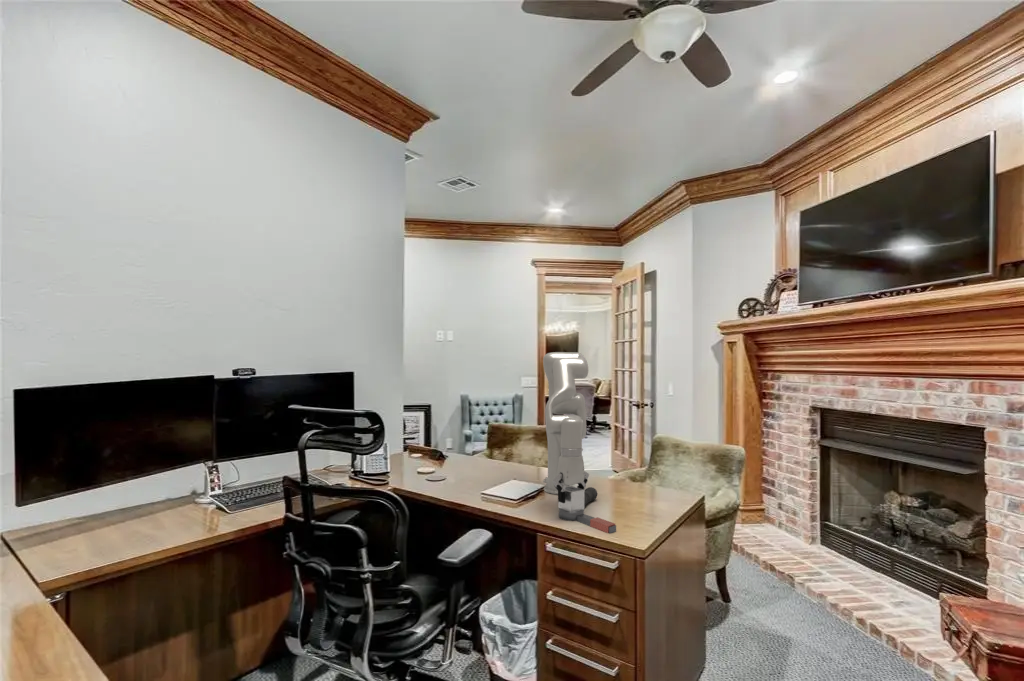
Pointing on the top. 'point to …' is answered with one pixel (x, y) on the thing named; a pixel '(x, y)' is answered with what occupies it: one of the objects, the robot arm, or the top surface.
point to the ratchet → (588, 520)
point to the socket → (573, 499)
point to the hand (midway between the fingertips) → (571, 499)
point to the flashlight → (589, 495)
